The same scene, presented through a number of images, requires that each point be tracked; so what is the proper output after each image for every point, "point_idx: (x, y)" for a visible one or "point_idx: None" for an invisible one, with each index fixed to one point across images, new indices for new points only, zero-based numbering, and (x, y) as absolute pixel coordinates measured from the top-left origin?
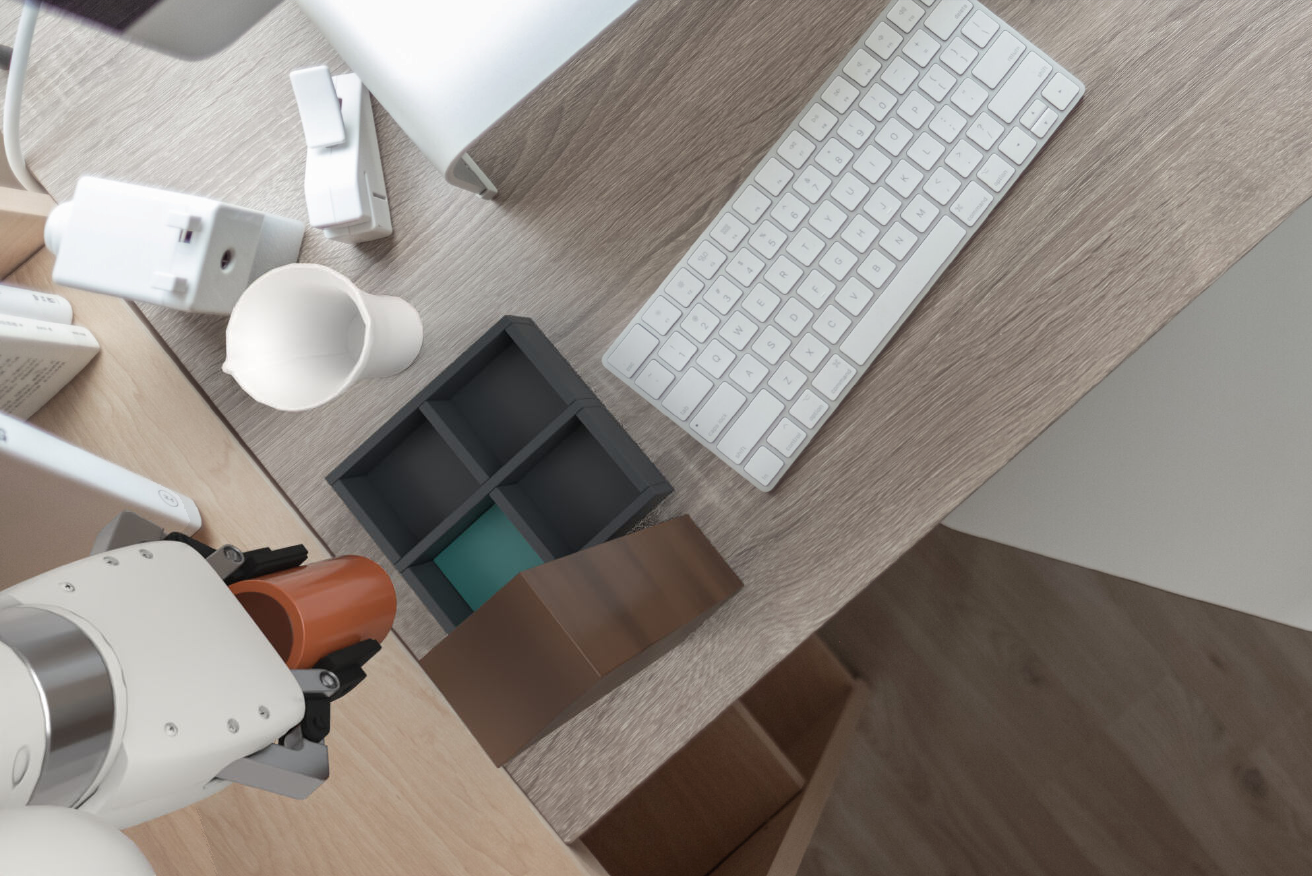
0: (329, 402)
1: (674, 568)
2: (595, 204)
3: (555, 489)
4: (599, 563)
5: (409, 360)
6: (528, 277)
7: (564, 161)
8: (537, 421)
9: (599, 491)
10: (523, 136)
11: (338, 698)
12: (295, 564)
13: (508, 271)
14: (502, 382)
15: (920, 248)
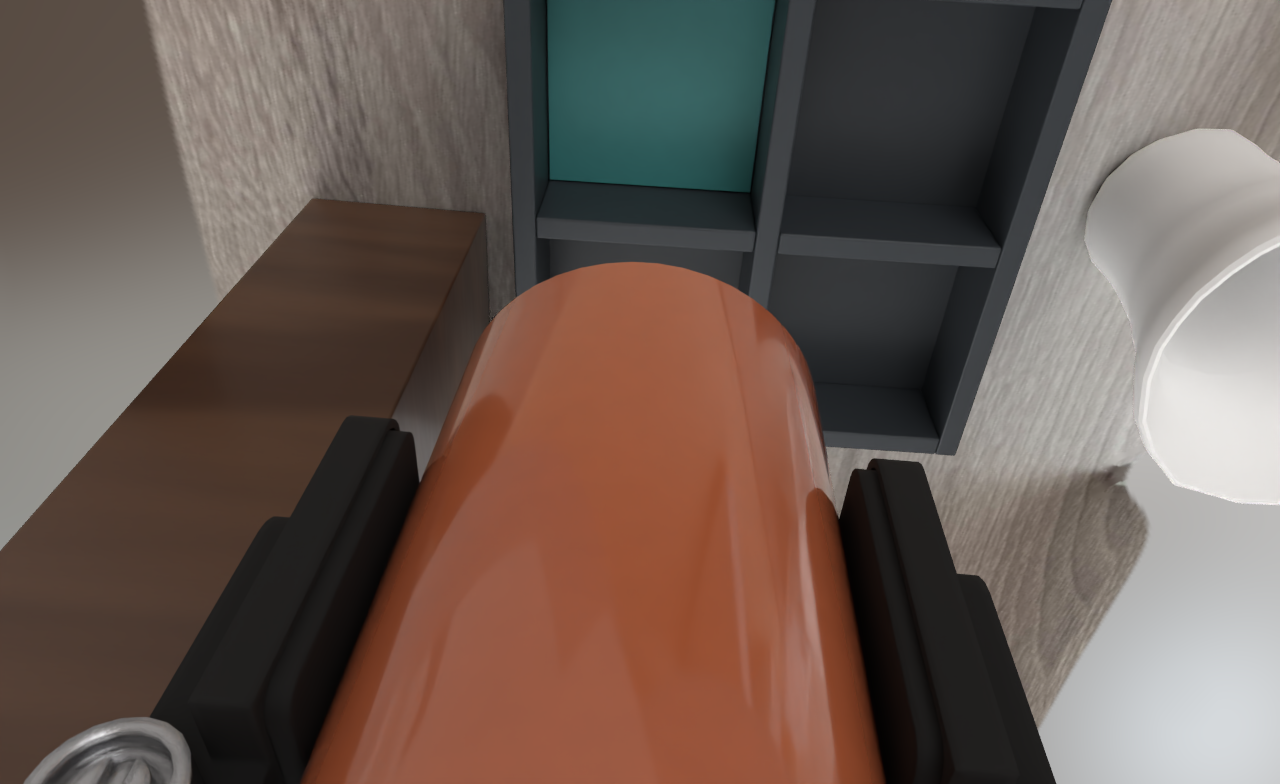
0: (1170, 308)
1: None
2: (951, 549)
3: (683, 251)
4: None
5: (1092, 229)
6: (977, 431)
7: (1034, 560)
8: (797, 307)
9: None
10: (1118, 550)
11: (257, 536)
12: None
13: (1015, 418)
14: (899, 311)
15: None
